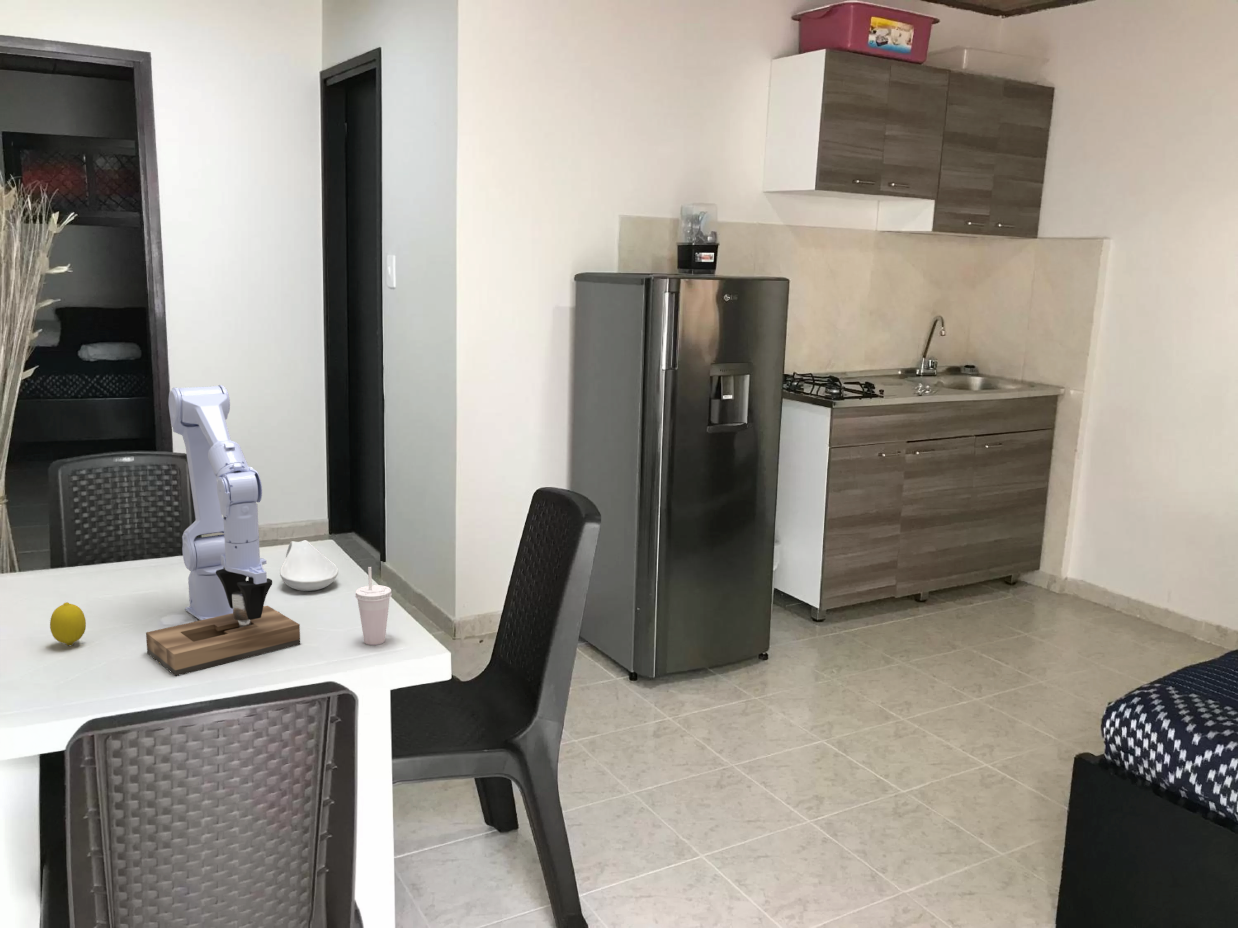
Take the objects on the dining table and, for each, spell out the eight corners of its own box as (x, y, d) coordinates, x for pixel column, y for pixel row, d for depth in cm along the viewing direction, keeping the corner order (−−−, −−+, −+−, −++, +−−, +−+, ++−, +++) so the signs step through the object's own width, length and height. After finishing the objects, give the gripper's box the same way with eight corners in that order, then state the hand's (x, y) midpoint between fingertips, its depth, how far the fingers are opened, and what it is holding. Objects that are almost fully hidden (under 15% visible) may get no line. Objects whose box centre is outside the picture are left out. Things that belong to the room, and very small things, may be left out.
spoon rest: (344, 592, 212) (343, 559, 211) (285, 600, 207) (284, 566, 206) (321, 561, 233) (320, 531, 232) (267, 567, 228) (266, 536, 226)
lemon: (72, 652, 177) (68, 609, 175) (44, 649, 178) (40, 606, 176) (94, 641, 182) (91, 598, 180) (67, 638, 183) (63, 596, 182)
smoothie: (359, 634, 189) (357, 562, 186) (394, 634, 189) (393, 562, 186) (353, 647, 182) (351, 572, 180) (390, 647, 183) (388, 572, 180)
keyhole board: (147, 652, 178) (145, 632, 177) (268, 624, 192) (267, 605, 192) (175, 675, 168) (174, 654, 168) (300, 644, 183) (299, 624, 182)
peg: (226, 637, 183) (224, 592, 181) (253, 631, 186) (250, 587, 184) (237, 644, 179) (234, 599, 178) (263, 638, 183) (261, 593, 181)
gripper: (282, 544, 177) (285, 618, 180) (246, 527, 187) (249, 597, 190) (242, 551, 172) (246, 627, 175) (207, 533, 182) (212, 605, 185)
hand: (245, 612), depth 182 cm, fingers open, 7 cm apart
